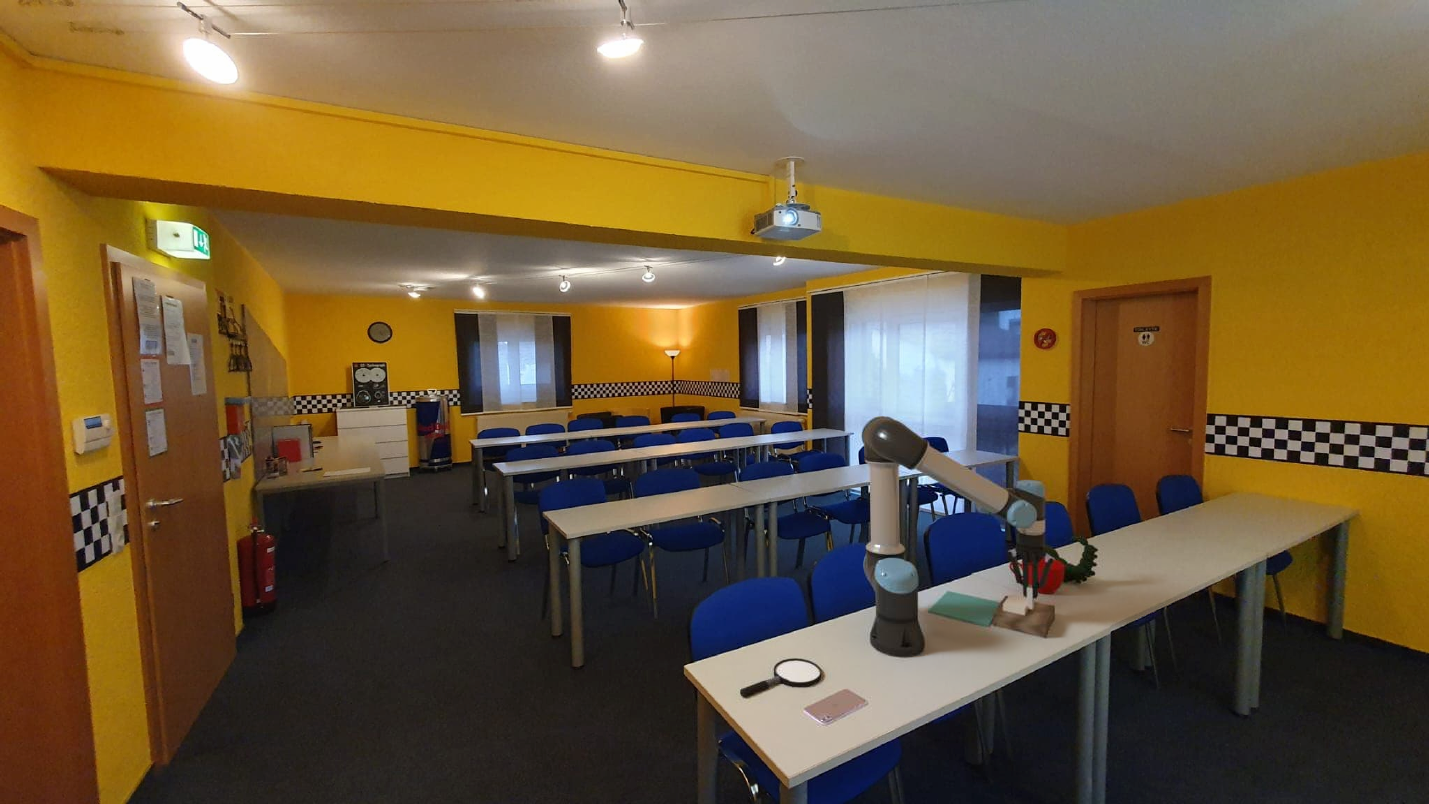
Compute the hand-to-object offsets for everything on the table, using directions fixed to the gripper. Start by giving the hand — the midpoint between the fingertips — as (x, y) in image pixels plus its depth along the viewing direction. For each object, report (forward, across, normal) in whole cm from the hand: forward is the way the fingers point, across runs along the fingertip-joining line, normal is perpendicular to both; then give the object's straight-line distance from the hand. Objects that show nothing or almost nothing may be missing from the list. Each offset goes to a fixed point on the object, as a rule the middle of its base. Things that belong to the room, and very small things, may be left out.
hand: (1030, 607), depth 175 cm
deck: (+5, -2, 0) cm, 5 cm away
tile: (+1, -4, 0) cm, 4 cm away
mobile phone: (+6, -27, -74) cm, 79 cm away
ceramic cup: (+5, -4, +30) cm, 31 cm away
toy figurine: (+5, 0, +46) cm, 46 cm away
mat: (+5, -19, 0) cm, 19 cm away
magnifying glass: (+6, -44, -72) cm, 85 cm away
